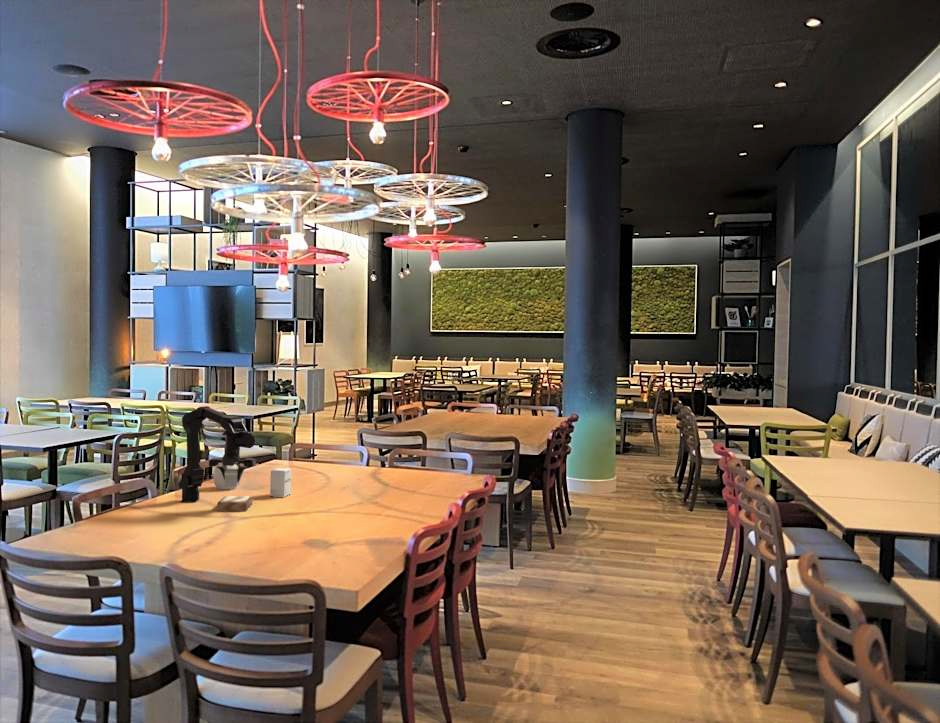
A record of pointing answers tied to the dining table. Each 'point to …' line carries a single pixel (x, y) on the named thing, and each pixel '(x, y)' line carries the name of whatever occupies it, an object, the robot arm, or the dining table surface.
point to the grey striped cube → (231, 477)
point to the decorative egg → (222, 478)
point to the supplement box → (280, 482)
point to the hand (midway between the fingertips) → (232, 482)
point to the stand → (234, 503)
